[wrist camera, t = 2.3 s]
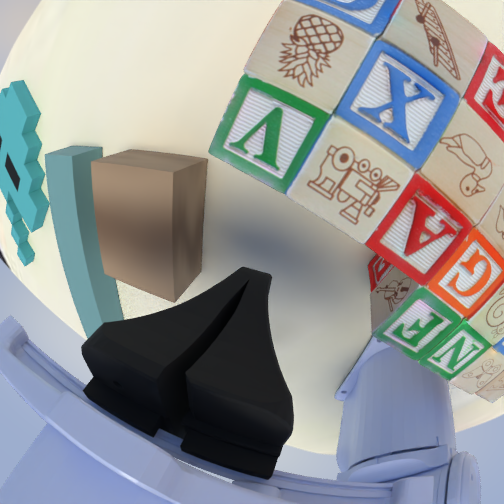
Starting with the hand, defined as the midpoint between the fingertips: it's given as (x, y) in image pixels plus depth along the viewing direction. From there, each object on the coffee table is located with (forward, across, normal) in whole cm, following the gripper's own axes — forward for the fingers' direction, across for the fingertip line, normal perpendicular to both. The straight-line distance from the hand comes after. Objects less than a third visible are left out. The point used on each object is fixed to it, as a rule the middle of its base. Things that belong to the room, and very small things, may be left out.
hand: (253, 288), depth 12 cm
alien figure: (+6, +33, -2) cm, 33 cm away
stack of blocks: (+2, -11, -11) cm, 16 cm away
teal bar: (+5, +16, +7) cm, 18 cm away
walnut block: (+6, +8, 0) cm, 10 cm away
